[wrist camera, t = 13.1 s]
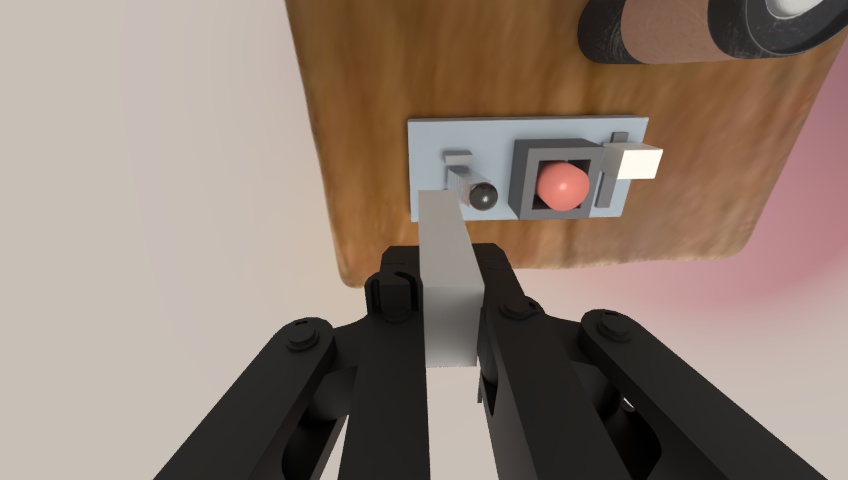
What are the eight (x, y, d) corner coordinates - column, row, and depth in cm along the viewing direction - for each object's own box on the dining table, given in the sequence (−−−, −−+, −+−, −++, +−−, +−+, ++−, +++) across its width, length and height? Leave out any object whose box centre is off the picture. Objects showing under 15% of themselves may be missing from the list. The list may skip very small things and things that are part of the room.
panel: (408, 118, 38) (407, 129, 31) (632, 114, 39) (682, 123, 32) (411, 212, 44) (411, 239, 37) (608, 207, 44) (645, 233, 37)
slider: (603, 142, 36) (624, 150, 33) (638, 142, 36) (663, 149, 33) (597, 169, 38) (617, 179, 34) (631, 168, 38) (654, 178, 34)
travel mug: (643, 56, 36) (869, 40, 18) (574, 73, 37) (728, 74, 19) (650, -29, 33) (936, -150, 15) (574, -9, 33) (762, -103, 15)
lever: (446, 167, 36) (477, 188, 29) (469, 165, 37) (504, 185, 30) (445, 191, 37) (475, 217, 31) (468, 188, 38) (501, 213, 31)
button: (529, 155, 37) (547, 168, 32) (569, 154, 37) (594, 167, 32) (524, 194, 39) (540, 211, 34) (562, 193, 39) (584, 210, 34)
